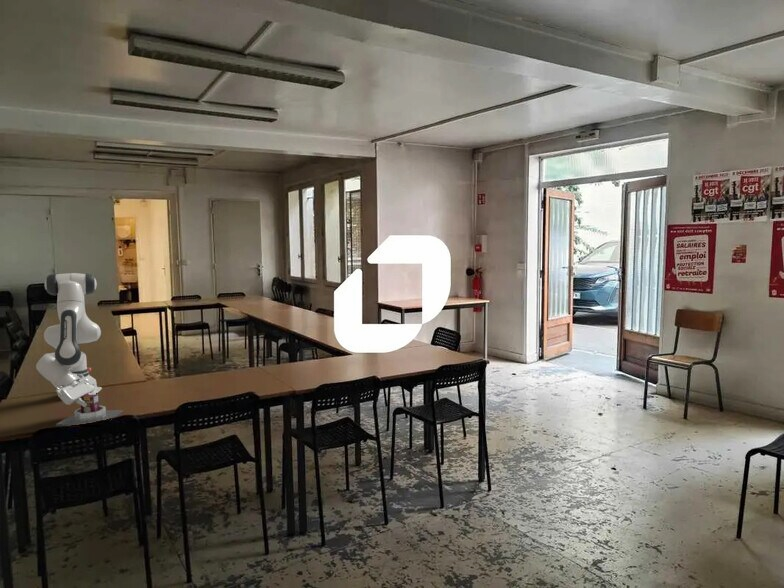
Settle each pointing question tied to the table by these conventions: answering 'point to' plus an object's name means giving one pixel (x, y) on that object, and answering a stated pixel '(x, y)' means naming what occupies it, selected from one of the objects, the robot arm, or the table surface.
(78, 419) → the duct collar
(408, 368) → the table surface
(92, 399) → the supplement box
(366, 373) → the table surface
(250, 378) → the table surface
